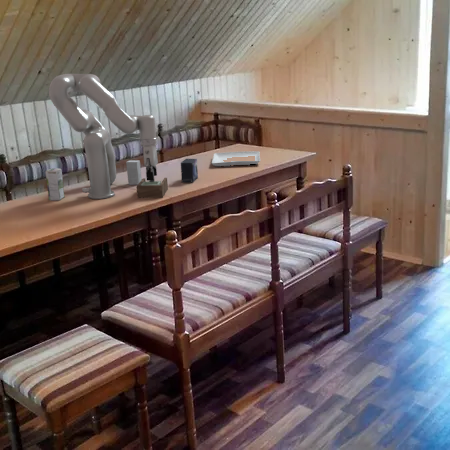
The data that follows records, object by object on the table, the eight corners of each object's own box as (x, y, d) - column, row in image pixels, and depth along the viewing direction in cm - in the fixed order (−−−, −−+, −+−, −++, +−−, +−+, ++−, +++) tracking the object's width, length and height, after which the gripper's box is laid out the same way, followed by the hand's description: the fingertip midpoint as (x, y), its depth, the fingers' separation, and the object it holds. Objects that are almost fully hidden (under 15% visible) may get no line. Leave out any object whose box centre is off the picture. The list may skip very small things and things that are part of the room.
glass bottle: (93, 184, 326) (87, 131, 317) (110, 180, 332) (104, 128, 324) (104, 187, 319) (98, 132, 310) (121, 183, 326) (115, 129, 317)
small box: (193, 182, 319) (192, 162, 315) (181, 182, 320) (179, 162, 317) (198, 177, 328) (197, 158, 325) (186, 178, 330) (185, 158, 327)
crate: (159, 195, 295) (157, 172, 291) (141, 195, 296) (139, 172, 292) (162, 190, 302) (160, 168, 299) (144, 191, 303) (142, 168, 300)
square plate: (214, 158, 375) (213, 152, 374) (259, 157, 374) (259, 150, 373) (211, 168, 349) (211, 161, 348) (260, 166, 348) (260, 159, 347)
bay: (162, 197, 294) (161, 185, 292) (137, 198, 294) (136, 186, 293) (167, 189, 309) (167, 177, 307) (143, 189, 310) (142, 178, 308)
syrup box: (53, 197, 305) (49, 168, 300) (65, 197, 304) (61, 168, 299) (48, 200, 299) (44, 170, 295) (60, 200, 298) (56, 170, 294)
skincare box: (142, 183, 324) (140, 160, 320) (139, 185, 320) (136, 162, 316) (131, 182, 325) (129, 160, 322) (128, 184, 321) (125, 162, 318)
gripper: (153, 145, 286) (156, 182, 291) (159, 138, 302) (162, 173, 307) (136, 145, 286) (140, 182, 291) (144, 139, 303) (147, 174, 308)
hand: (151, 177), depth 299 cm, fingers open, 8 cm apart
